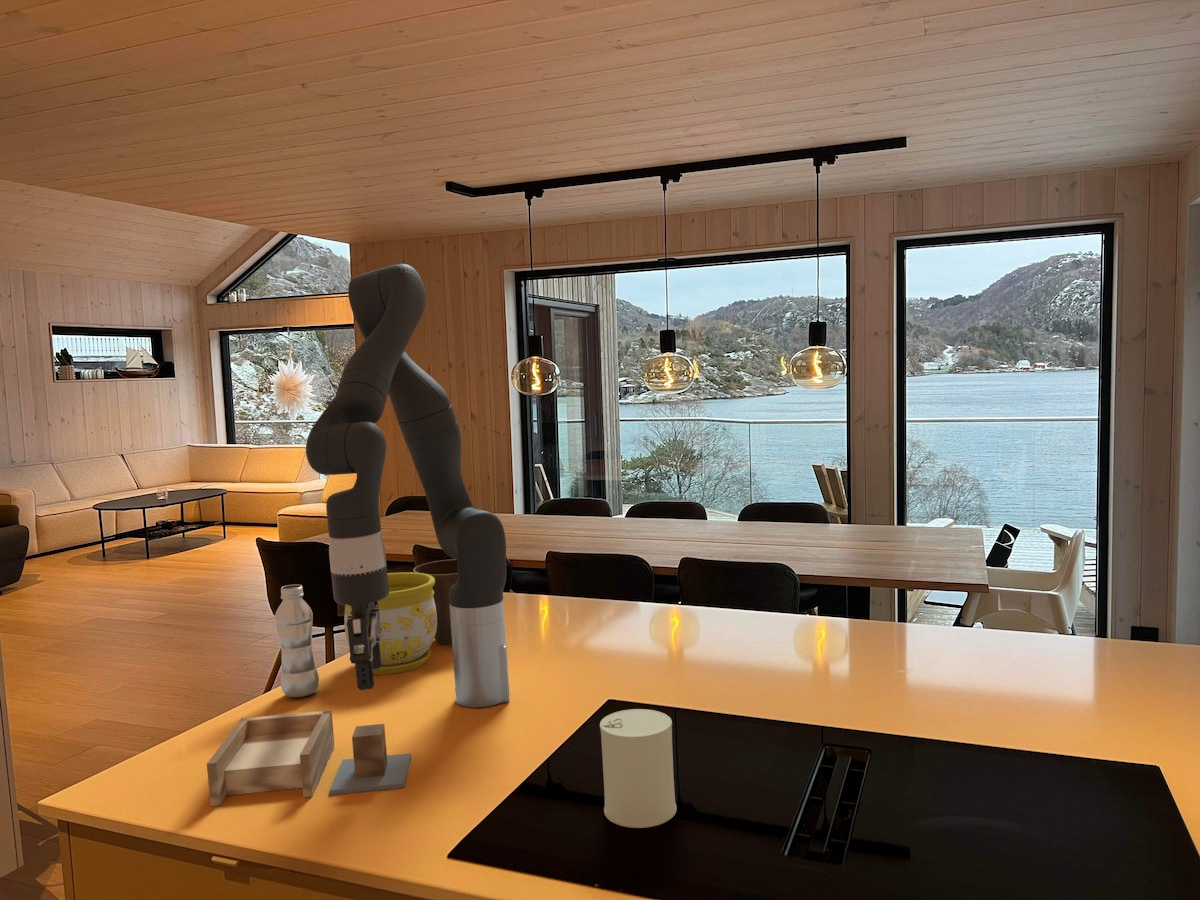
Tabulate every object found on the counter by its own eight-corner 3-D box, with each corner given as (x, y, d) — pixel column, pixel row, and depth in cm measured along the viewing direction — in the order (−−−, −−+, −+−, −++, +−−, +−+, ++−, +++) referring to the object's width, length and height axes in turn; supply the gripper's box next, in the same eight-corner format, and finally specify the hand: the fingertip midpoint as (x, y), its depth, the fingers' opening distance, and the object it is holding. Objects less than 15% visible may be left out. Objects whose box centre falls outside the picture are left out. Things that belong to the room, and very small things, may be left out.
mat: (411, 757, 135) (411, 753, 135) (403, 787, 125) (403, 783, 125) (342, 763, 134) (342, 759, 134) (329, 794, 124) (329, 790, 124)
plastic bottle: (309, 702, 161) (299, 591, 159) (274, 701, 162) (264, 591, 161) (326, 689, 167) (318, 582, 165) (293, 688, 169) (284, 582, 167)
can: (601, 796, 120) (596, 708, 119) (670, 790, 120) (666, 702, 119) (607, 831, 111) (602, 736, 110) (682, 824, 111) (678, 729, 110)
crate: (334, 748, 140) (331, 710, 140) (312, 796, 124) (308, 754, 124) (244, 756, 139) (241, 718, 138) (210, 806, 123) (206, 763, 122)
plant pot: (463, 625, 205) (459, 555, 203) (503, 638, 194) (498, 564, 192) (405, 641, 195) (400, 568, 193) (443, 655, 184) (438, 577, 182)
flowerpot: (341, 659, 185) (335, 580, 183) (429, 644, 192) (423, 567, 190) (354, 685, 168) (347, 598, 167) (450, 668, 175) (444, 585, 174)
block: (387, 763, 132) (384, 723, 132) (384, 775, 128) (381, 734, 128) (359, 766, 132) (356, 726, 131) (355, 778, 128) (351, 737, 127)
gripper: (380, 574, 120) (392, 693, 122) (391, 552, 134) (401, 659, 136) (322, 580, 119) (334, 699, 121) (339, 557, 133) (350, 664, 135)
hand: (370, 678), depth 128 cm, fingers open, 8 cm apart
